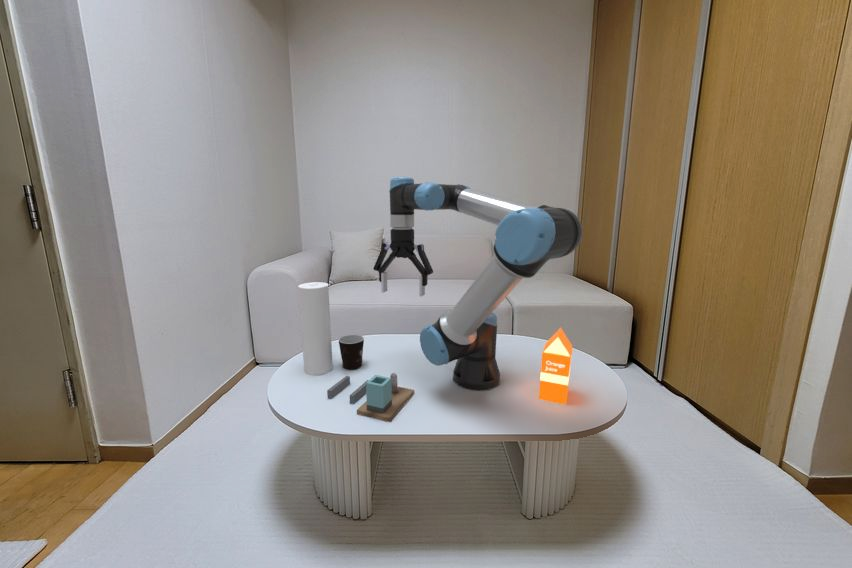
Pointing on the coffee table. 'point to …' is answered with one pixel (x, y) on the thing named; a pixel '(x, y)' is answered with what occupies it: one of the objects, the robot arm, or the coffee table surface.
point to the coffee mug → (351, 351)
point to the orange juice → (555, 368)
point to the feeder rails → (344, 383)
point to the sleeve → (379, 394)
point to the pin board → (398, 401)
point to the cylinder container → (315, 327)
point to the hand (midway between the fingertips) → (402, 293)
